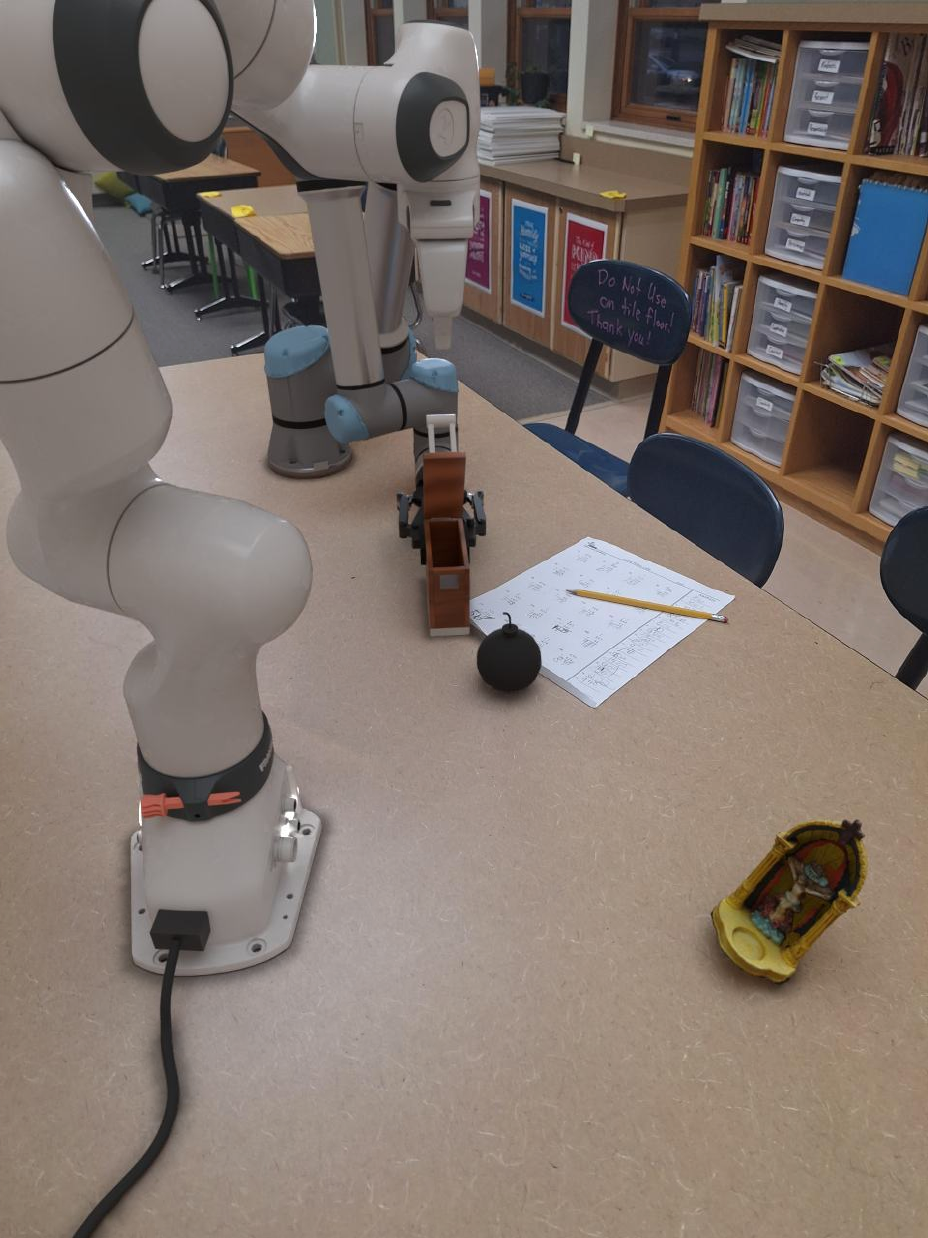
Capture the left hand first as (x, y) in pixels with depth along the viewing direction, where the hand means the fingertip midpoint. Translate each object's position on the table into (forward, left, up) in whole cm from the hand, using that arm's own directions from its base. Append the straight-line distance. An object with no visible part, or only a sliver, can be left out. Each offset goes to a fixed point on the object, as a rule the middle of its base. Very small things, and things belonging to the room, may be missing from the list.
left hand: (441, 334), depth 100 cm
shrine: (-59, -23, -38) cm, 73 cm away
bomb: (-20, -6, -38) cm, 43 cm away
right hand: (+1, 0, -31) cm, 31 cm away
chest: (-2, 0, -38) cm, 38 cm away
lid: (+1, 0, -21) cm, 21 cm away
